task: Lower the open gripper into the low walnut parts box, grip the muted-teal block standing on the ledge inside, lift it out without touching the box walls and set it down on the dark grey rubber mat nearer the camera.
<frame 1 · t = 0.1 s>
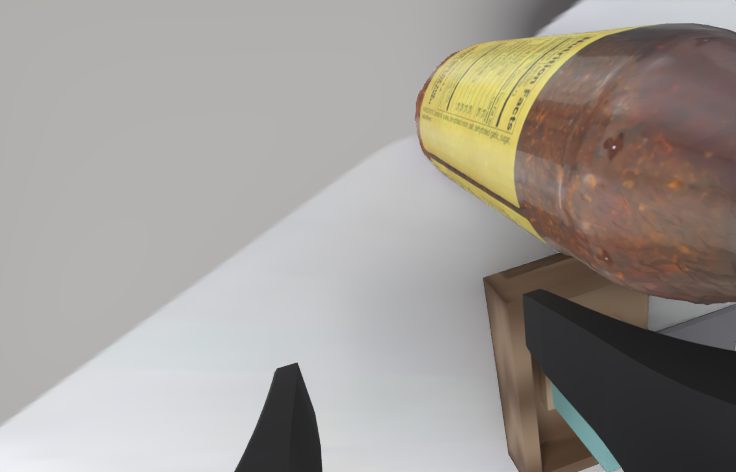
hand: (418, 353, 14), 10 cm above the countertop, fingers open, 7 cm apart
parts box: (568, 351, 29), on the countertop
sauce bottle: (466, 108, 22), on the countertop
teal block: (584, 367, 28), point 2 cm above the countertop, touching parts box
rubber mat: (686, 359, 32), on the countertop
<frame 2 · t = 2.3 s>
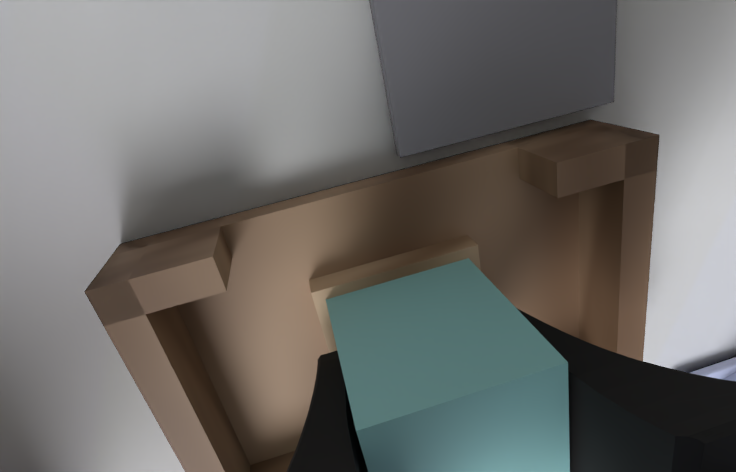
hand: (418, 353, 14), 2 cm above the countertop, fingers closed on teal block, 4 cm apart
parts box: (397, 311, 16), on the countertop
teal block: (410, 337, 14), point 2 cm above the countertop, touching gripper, parts box
rubber mat: (494, 2, 12), on the countertop
when the fingers open (3 cm above the countertop, at t = 5.7 s): teal block drops 1 cm, resting on rubber mat.
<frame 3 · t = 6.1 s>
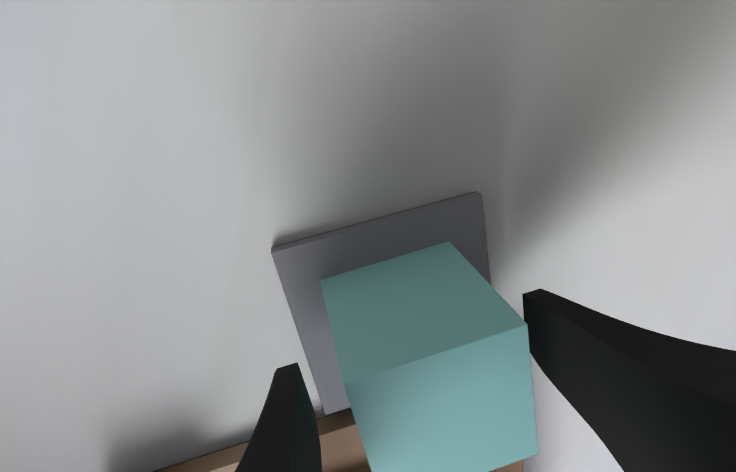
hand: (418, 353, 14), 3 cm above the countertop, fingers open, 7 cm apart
teal block: (398, 315, 16), resting on rubber mat
rubber mat: (395, 306, 16), on the countertop
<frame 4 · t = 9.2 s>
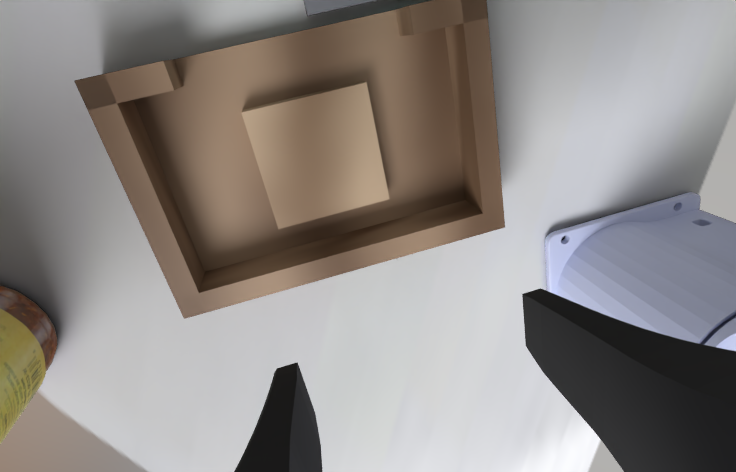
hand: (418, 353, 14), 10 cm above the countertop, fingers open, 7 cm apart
parts box: (316, 151, 21), on the countertop
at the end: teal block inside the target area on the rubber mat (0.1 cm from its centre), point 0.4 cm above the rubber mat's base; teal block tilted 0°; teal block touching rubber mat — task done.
